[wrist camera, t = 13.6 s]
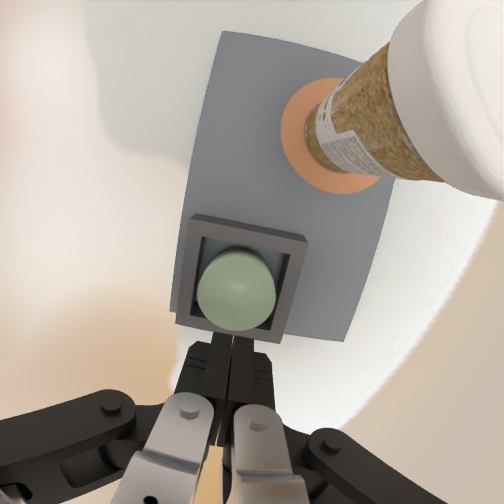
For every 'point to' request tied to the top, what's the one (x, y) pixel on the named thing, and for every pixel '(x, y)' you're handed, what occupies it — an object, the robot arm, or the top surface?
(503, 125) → the sprinkles bottle
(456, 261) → the top surface
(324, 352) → the top surface
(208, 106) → the slate board
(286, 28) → the top surface
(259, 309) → the button
